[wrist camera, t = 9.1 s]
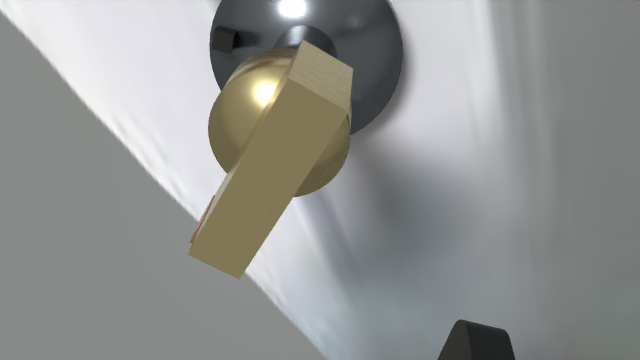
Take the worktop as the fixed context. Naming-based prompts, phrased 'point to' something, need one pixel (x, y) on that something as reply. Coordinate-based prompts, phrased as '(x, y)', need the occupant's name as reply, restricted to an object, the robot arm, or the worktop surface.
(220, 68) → the round metal flange
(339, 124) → the door handle
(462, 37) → the worktop surface
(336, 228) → the worktop surface
